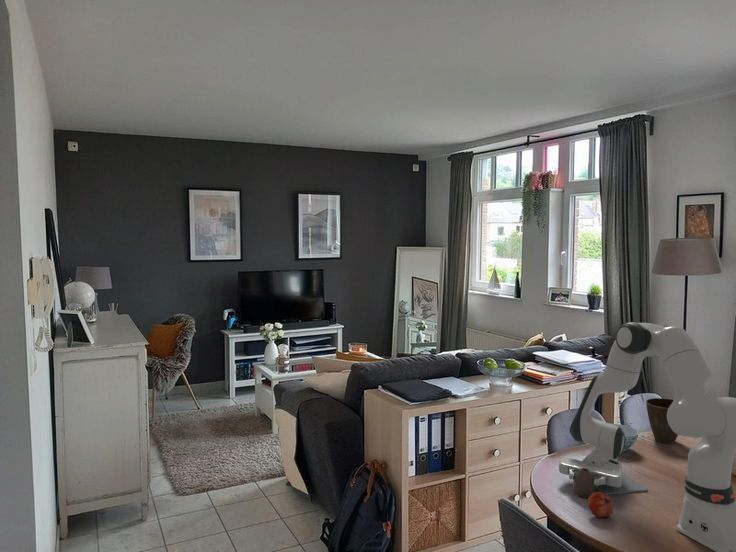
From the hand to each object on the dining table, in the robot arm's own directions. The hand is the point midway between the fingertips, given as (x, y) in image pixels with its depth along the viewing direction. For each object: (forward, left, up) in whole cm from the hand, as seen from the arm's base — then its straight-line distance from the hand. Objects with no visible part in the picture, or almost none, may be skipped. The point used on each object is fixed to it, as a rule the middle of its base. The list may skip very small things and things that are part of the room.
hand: (583, 480), depth 193 cm
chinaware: (+37, -37, -6) cm, 52 cm away
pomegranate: (-13, +2, -6) cm, 14 cm away
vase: (+1, -1, -6) cm, 6 cm away
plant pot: (+42, -62, -6) cm, 74 cm away
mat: (+11, -16, -5) cm, 20 cm away
